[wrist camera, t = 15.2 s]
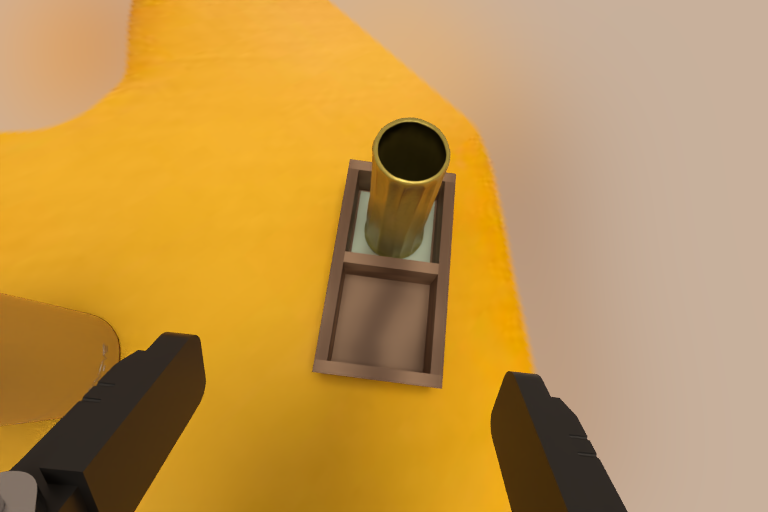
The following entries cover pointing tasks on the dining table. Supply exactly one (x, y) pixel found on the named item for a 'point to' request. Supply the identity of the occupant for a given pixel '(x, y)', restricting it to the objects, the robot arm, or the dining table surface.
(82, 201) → the dining table surface
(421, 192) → the vase
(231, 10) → the dining table surface
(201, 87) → the dining table surface
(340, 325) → the wooden compartment tray
